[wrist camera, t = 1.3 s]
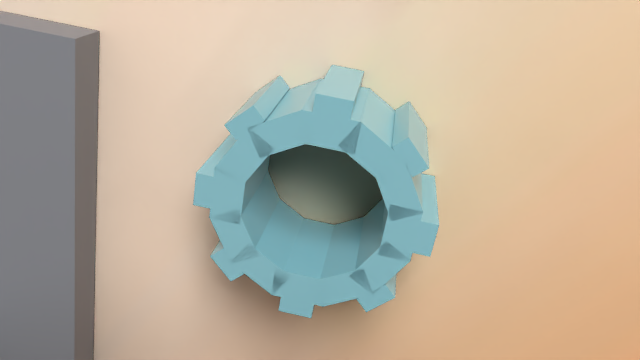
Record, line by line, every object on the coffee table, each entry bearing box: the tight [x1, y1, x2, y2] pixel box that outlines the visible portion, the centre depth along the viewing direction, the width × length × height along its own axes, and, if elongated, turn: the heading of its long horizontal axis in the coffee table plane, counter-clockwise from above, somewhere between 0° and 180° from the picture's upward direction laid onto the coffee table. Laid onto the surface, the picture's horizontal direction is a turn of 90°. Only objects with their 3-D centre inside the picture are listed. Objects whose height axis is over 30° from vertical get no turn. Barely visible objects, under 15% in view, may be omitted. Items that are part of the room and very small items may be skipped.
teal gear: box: [193, 65, 439, 318], centre depth 18 cm, size 7×7×4 cm
